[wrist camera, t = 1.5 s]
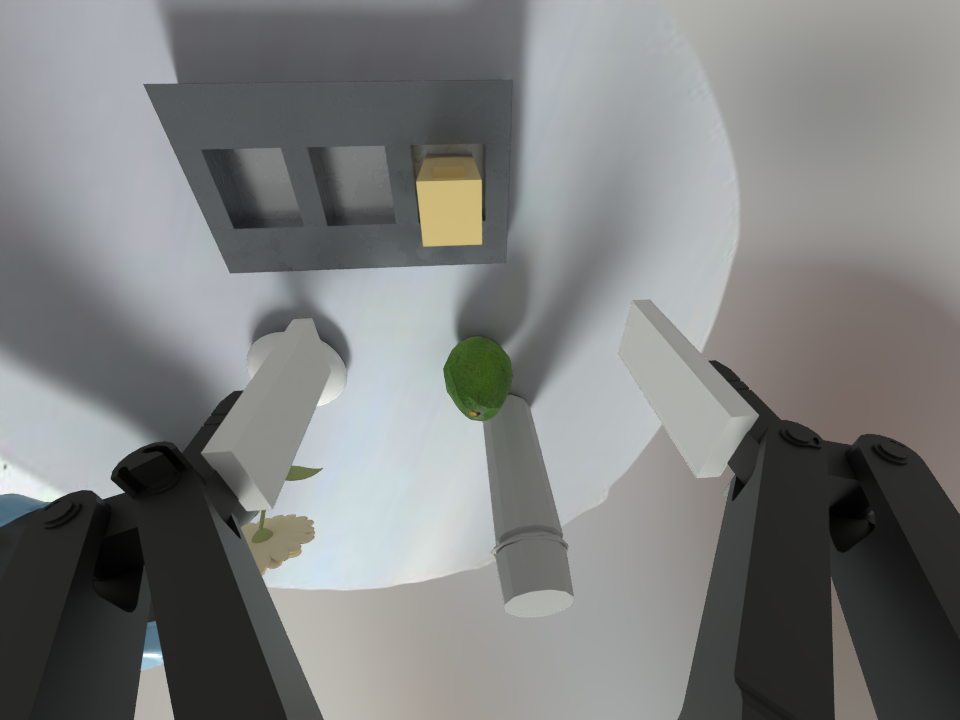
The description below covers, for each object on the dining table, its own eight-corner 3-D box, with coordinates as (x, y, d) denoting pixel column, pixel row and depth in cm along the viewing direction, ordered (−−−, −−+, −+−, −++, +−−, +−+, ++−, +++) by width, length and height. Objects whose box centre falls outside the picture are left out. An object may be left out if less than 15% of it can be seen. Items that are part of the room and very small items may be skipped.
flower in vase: (254, 386, 46) (108, 606, 27) (252, 313, 40) (60, 529, 20) (356, 405, 50) (295, 614, 30) (369, 340, 44) (304, 549, 24)
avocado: (464, 312, 42) (469, 376, 33) (518, 339, 45) (537, 406, 35) (433, 359, 46) (429, 429, 36) (484, 381, 49) (493, 452, 39)
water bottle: (484, 388, 50) (508, 586, 30) (537, 393, 51) (595, 587, 31) (471, 432, 55) (485, 626, 35) (520, 436, 56) (560, 625, 36)
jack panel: (249, 257, 36) (230, 273, 33) (178, 84, 28) (143, 84, 25) (501, 248, 38) (506, 262, 35) (505, 81, 29) (512, 79, 26)
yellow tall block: (430, 202, 34) (423, 246, 24) (425, 146, 31) (415, 170, 21) (472, 201, 34) (482, 244, 24) (471, 145, 31) (481, 168, 21)
